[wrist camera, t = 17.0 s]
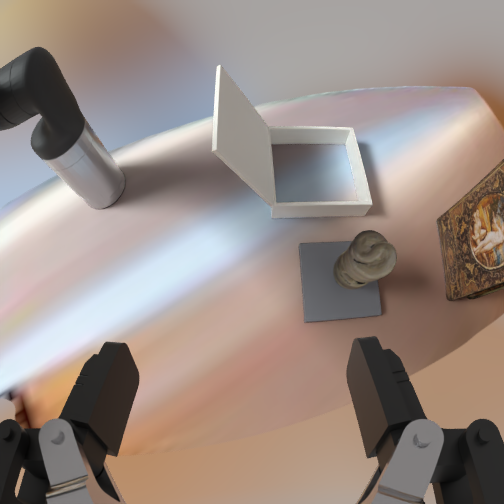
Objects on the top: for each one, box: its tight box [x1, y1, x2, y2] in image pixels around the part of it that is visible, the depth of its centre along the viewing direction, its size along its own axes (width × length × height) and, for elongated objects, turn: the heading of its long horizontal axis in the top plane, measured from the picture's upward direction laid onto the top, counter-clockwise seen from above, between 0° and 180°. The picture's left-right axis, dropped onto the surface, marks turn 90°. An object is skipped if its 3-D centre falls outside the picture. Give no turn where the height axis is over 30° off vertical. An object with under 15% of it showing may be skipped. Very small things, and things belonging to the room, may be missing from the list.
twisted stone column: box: [333, 230, 397, 290], centre depth 37 cm, size 6×6×15 cm
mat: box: [299, 241, 382, 323], centre depth 45 cm, size 12×12×2 cm
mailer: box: [212, 65, 372, 219], centre depth 42 cm, size 23×16×19 cm
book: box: [436, 159, 504, 300], centre depth 34 cm, size 16×6×25 cm, turn 178°
